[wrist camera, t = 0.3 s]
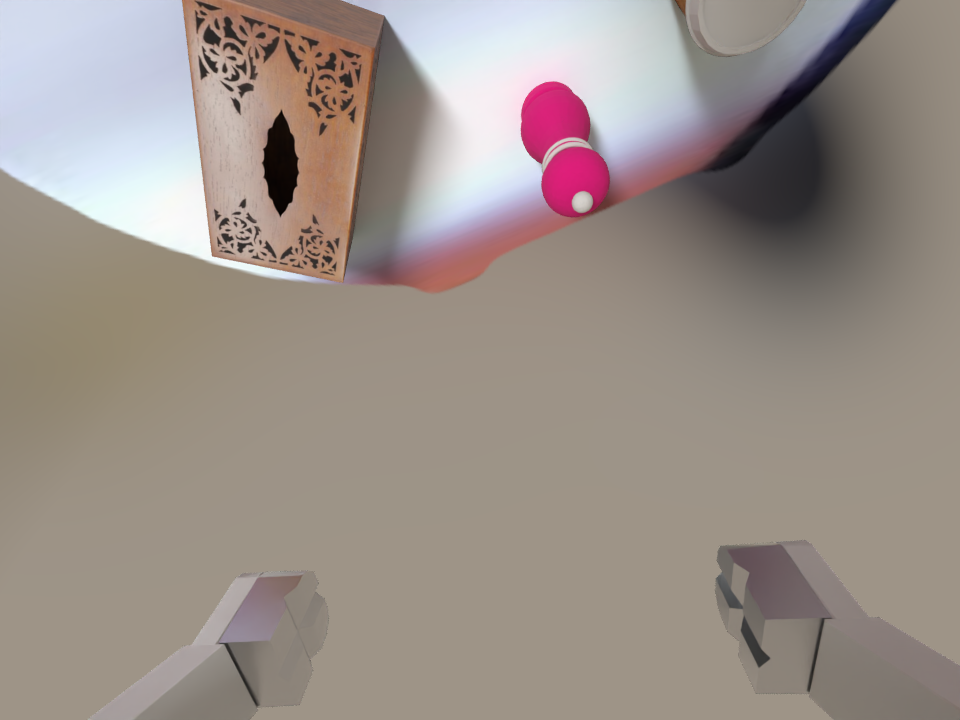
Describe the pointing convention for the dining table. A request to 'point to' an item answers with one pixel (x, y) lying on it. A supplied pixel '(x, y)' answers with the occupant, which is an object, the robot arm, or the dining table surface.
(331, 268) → the tissue box cover
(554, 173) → the pepper mill
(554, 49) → the dining table surface
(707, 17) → the disposable coffee cup
